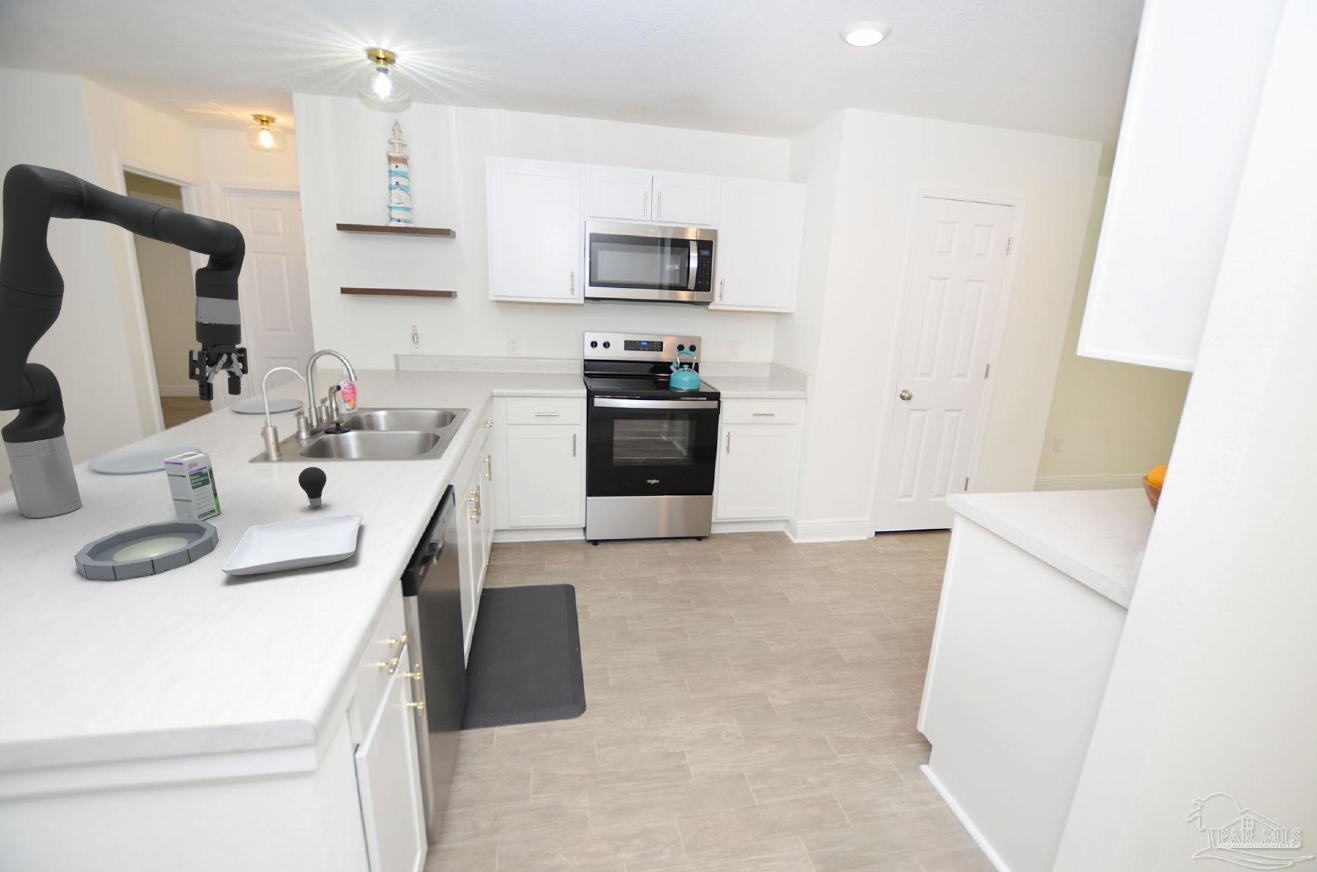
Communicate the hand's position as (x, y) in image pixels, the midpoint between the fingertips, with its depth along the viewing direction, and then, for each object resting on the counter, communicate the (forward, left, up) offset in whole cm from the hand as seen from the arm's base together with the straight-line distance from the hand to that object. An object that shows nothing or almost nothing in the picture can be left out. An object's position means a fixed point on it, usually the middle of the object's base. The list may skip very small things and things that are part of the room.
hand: (221, 397), depth 121 cm
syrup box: (-10, -1, -28) cm, 29 cm away
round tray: (-4, -19, -28) cm, 33 cm away
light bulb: (+12, +7, -28) cm, 31 cm away
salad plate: (+23, -15, -28) cm, 39 cm away
